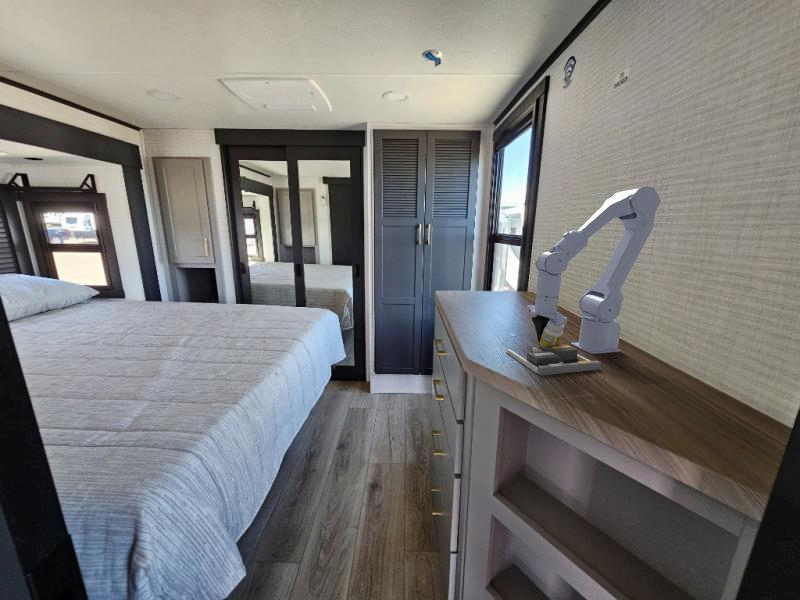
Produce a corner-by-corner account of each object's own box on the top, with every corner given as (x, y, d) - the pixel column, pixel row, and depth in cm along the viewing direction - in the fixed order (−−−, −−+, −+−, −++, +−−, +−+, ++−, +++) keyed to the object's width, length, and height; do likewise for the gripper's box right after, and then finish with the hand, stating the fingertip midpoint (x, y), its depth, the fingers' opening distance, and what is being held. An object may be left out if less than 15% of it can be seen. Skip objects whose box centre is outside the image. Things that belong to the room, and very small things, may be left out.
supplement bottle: (553, 344, 88) (562, 320, 83) (558, 355, 83) (568, 329, 79) (536, 342, 88) (544, 318, 84) (540, 353, 84) (549, 327, 80)
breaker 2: (565, 353, 83) (566, 343, 83) (576, 359, 80) (578, 348, 79) (544, 355, 82) (545, 345, 82) (555, 361, 78) (556, 350, 78)
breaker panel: (558, 349, 88) (559, 341, 87) (599, 369, 74) (600, 361, 74) (506, 353, 84) (507, 345, 84) (539, 376, 71) (540, 367, 70)
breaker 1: (548, 360, 79) (549, 349, 78) (559, 367, 75) (560, 355, 74) (526, 362, 77) (527, 351, 77) (536, 369, 74) (537, 358, 73)
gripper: (519, 291, 91) (515, 334, 94) (552, 301, 77) (546, 352, 80) (540, 290, 93) (535, 333, 95) (576, 300, 79) (569, 350, 82)
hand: (542, 342), depth 88 cm, fingers closed
